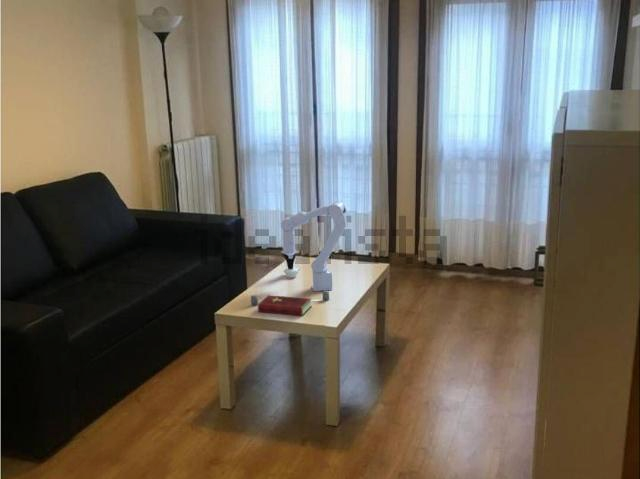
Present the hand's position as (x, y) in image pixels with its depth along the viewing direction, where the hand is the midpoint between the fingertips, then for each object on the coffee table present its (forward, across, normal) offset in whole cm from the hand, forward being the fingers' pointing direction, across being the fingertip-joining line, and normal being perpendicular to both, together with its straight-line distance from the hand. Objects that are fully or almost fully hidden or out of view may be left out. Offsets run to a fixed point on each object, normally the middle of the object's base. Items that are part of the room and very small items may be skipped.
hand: (290, 268), depth 322 cm
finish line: (+9, +22, -2) cm, 24 cm away
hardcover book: (+10, +31, -5) cm, 33 cm away
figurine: (+10, -18, +2) cm, 20 cm away
